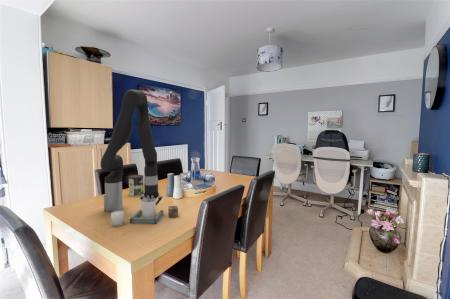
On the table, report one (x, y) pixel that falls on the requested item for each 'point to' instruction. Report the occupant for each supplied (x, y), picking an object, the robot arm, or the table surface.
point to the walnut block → (172, 211)
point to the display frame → (136, 218)
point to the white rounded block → (117, 218)
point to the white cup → (148, 208)
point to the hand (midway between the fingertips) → (151, 212)
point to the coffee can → (136, 185)
